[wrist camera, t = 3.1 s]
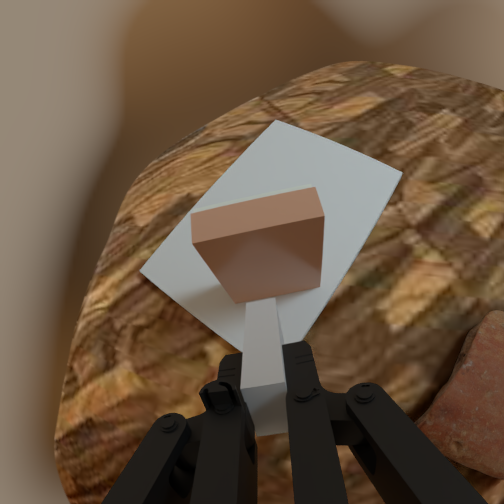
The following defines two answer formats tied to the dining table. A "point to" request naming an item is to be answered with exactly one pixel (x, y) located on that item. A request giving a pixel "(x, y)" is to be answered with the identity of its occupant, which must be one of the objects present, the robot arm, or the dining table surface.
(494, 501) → the dining table surface
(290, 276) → the terracotta tile
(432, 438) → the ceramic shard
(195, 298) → the grey mat
